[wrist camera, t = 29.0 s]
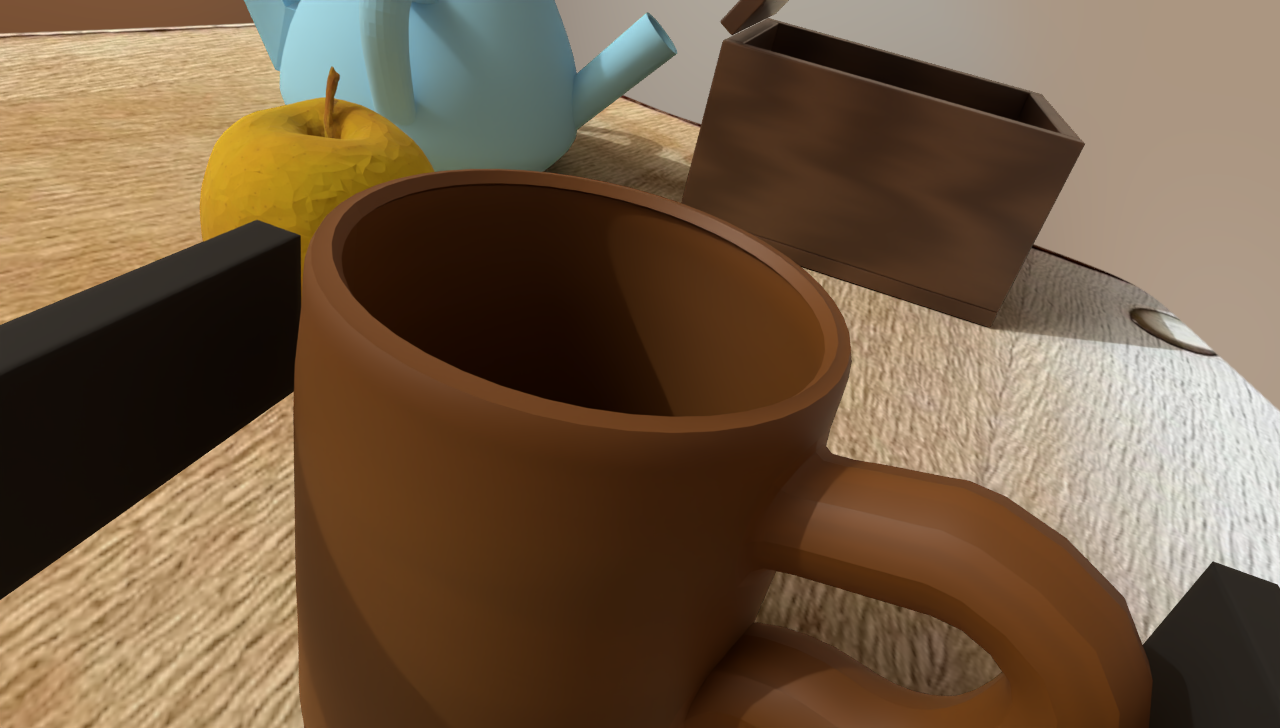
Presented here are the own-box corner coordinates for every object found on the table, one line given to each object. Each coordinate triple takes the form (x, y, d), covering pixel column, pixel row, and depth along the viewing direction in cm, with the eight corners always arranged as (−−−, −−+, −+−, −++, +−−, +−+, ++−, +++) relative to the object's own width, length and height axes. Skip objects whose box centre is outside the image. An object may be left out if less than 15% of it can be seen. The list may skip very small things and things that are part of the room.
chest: (972, 242, 47) (1042, 94, 43) (990, 328, 37) (1085, 143, 32) (726, 165, 50) (767, 17, 45) (675, 225, 39) (722, 39, 34)
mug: (955, 841, 15) (1264, 461, 10) (771, 1333, 9) (1272, 1005, 4) (507, 502, 20) (570, 141, 15) (209, 687, 14) (158, 205, 9)
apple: (351, 279, 28) (358, 42, 24) (478, 362, 25) (510, 112, 21) (162, 330, 23) (130, 45, 19) (295, 440, 20) (290, 136, 16)
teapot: (403, 237, 31) (424, -80, 26) (209, 97, 40) (192, -163, 34) (655, 194, 42) (709, -35, 36) (459, 92, 51) (478, -107, 45)
